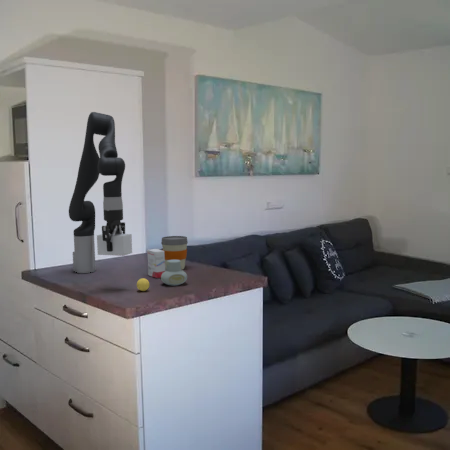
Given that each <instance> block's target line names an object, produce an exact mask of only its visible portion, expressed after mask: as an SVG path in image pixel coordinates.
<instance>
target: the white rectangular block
mask: <svg viewBox="0 0 450 450" xmlns="http://www.w3.org/2000/svg"><path fill="white" fill-rule="evenodd" d="M109 234H110V233H109ZM110 237H111V236H110ZM105 238H106V235H105ZM112 239H113V240H112V245H113V251H111V252H109V251H107V243H106V241H103V237H102V233H101V234H98V235H97V234H96V245H97V246H96V248H97V250H96V251H97V255H98V256H122V257H123V256H128V255H131V254H133V243H132V242H133V241H132V233H125V234H123V233H122V234H115V236H113V237H112Z"/></svg>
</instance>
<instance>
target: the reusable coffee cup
mask: <svg viewBox="0 0 450 450" xmlns="http://www.w3.org/2000/svg"><path fill="white" fill-rule="evenodd" d="M160 244H161V247H162V249H161V250H162V251H164V255H165V271H167V261H168V260H180V261H181V270H182V271H183V270H184V269H185V268H186V267H185V266H186V259H187V253H188V248H187V246H188V237H187V236H184V235H167V236H162V237H161V243H160Z"/></svg>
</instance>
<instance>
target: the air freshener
mask: <svg viewBox="0 0 450 450" xmlns="http://www.w3.org/2000/svg"><path fill="white" fill-rule="evenodd" d="M160 279H161V281H162V283H164V284H165V285H167V286H172V287H178V286H180V285H182V284H184V283H186V281H187V279H188V274H187V273H186V271H184V270H183V269H182V270H181V261H180V260H168V261H167V270H165V272H164V273H163V274H162V275H161V277H160Z"/></svg>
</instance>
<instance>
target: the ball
mask: <svg viewBox="0 0 450 450" xmlns="http://www.w3.org/2000/svg"><path fill="white" fill-rule="evenodd" d="M136 288H137V290H139V291H140V292H146V291H147V290H148V289H149V288H150V282H149V280H148V279H147V278H143V277H141V278H139V279H138V280H137V282H136Z"/></svg>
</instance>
